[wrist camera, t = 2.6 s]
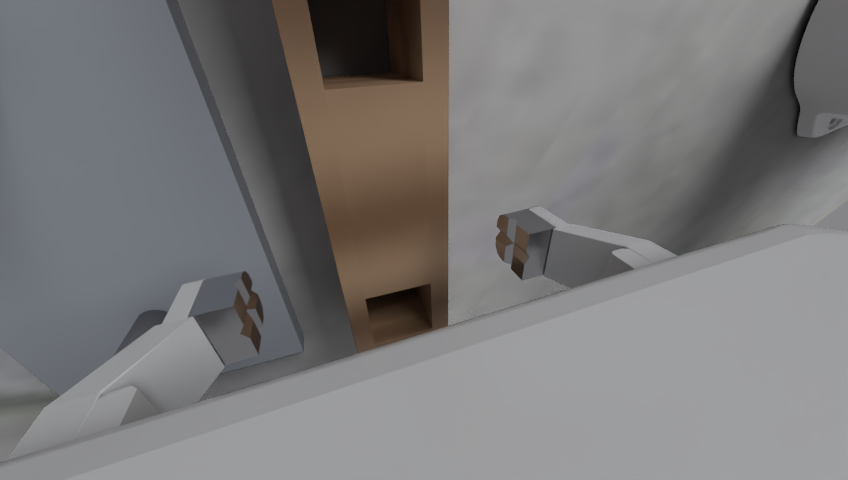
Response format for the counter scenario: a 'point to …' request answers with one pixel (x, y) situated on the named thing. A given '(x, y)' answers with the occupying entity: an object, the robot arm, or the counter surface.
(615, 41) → the counter surface
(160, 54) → the post board
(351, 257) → the walnut strip
